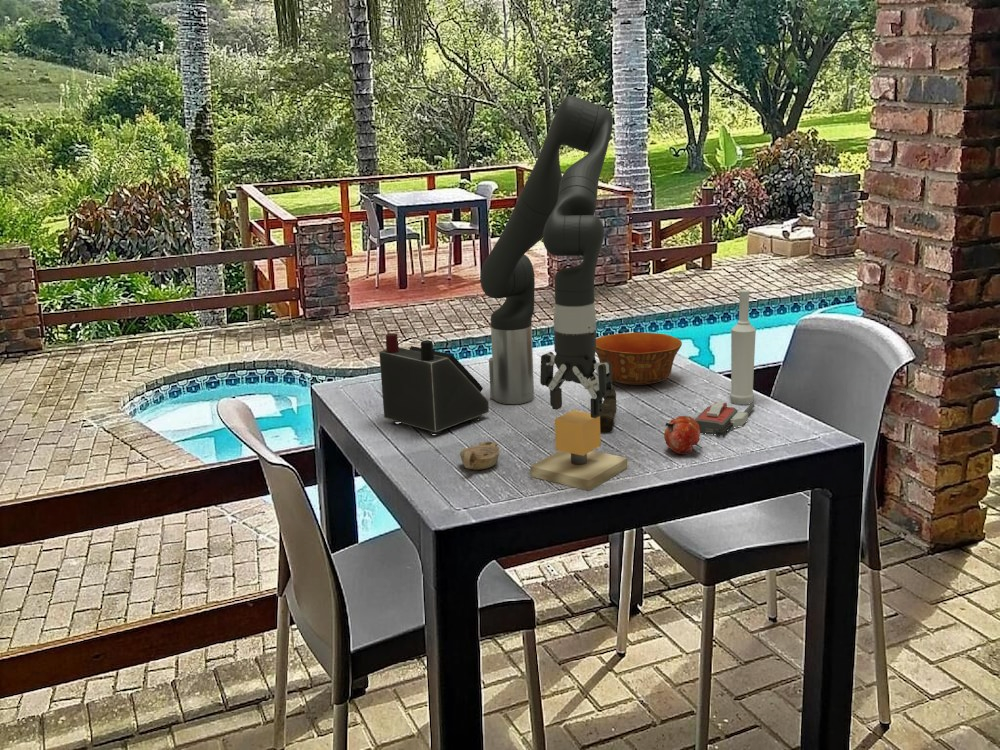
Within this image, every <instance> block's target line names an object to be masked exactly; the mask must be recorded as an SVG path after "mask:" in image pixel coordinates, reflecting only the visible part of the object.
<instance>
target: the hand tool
mask: <svg viewBox="0 0 1000 750" xmlns="http://www.w3.org/2000/svg"><path fill="white" fill-rule="evenodd" d="M612 390H613V392H612V393H611V394H609V395H607V396H605V397H603V400H602V408H603V411H602V414H600V434H601V433H603V434H606V433H607V434H608V433H611V432H613V430H614V425H615V415H616V413H617V390H616V389H615V388H613V387H612Z"/></svg>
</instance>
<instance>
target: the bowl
mask: <svg viewBox="0 0 1000 750" xmlns="http://www.w3.org/2000/svg"><path fill="white" fill-rule="evenodd" d="M682 344H683V342H682V340H681V339H680V338H677V337H675V336H672V335H669V334H665V333H658V332H657V333H655V332H637V331H636V332H623V333H615V334H607V335H602V336H600V337H596V352H595V355H597V358H598V361H599V363H605V362H610V363H611V372H612V382H613V381H614V382H617V383H620V384H624V385H629V386H630V385H631V386H632V385H633V386H634V385H635V386H640V385H641V386H643V385H651V384H656V383H659V382H663V381H665V380H666V379H667V378H669V377H670V375H671V372H672V368H673V365H674V360H675V359H676V356H677V354H678V352H679V351H680V349H681V347H682Z"/></svg>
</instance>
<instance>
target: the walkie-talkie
mask: <svg viewBox="0 0 1000 750" xmlns="http://www.w3.org/2000/svg"><path fill="white" fill-rule="evenodd" d="M754 408H755V404H753V403H751V404H749V405H748V406H747V408H746V409H745V410H744V411H739V410H738V409H737V408H735V407H734V406H733V407H730V406H728V403H727V402H722V401H715V402H714V403H713V404H712V405H709V406H706V408H705V409H704V410H703V411H701V413H700V414H699V415H698V416H697V417H696V418H694V419H695V420H696V422H697V423H698V425H699V429H700V433H703V434H702V435H706V434H713V435H712V436H714V434H716V435H723V434H724V433H725V432H726V431H727V430H728V429H729V428H734V427H738V426H742V425H743V424H744V423H745V422H746V421H747V420H748V421H749V414H750V413H751V412H752V410H753V409H754ZM748 421H747V422H748ZM747 422H746V423H747ZM746 423H745V424H746ZM745 424H744V425H745ZM744 425H743V426H744ZM743 426H742V427H743ZM729 430H730V429H729ZM729 430H728V431H729ZM728 431H727V432H728ZM727 432H726V433H727ZM705 433H706V434H705ZM726 433H725V434H726ZM725 434H724V435H725Z"/></svg>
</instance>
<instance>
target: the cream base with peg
mask: <svg viewBox="0 0 1000 750" xmlns="http://www.w3.org/2000/svg"><path fill="white" fill-rule="evenodd" d="M529 469H530V470H529V471H530V472H529V473H530V475H529V476H530V477H532V478H535V479H539V480H542V481H543V480H544V481H548V482H551V483H552V482H553V483H555V484H561V485H565V486H568V487H571V488H572V487H573V488H577V489H581V490H584V491H591V490H593V489H595V488H596V487H598V486H600V485H601V484H603V483H605V482H607V481H609V480H610V479H611V478H614V477H615V476H617V475H618V474H620V473H622V472H623V471H625V470H627V469H628V457H624V456H619V455H615V454H610V453H605V452H601V451H596V450H592V451H591V452H589V453H587V454H585V455H584V456H582V455H577V454H573V453H568V452H563V451H558V450H557V452H555V453H553V454H551V455H549V456H547V457H546V458H543V459H541V460H540V461H537V462H535V463H533V464H532V465H530V467H529Z"/></svg>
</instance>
